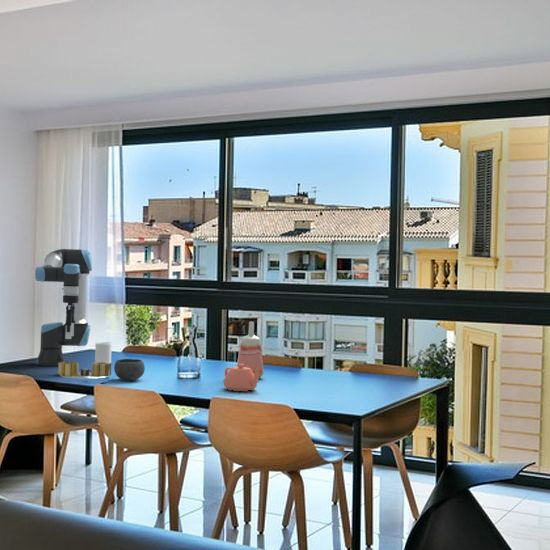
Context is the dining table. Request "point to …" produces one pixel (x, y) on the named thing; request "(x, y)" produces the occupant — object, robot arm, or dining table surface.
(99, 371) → the seated gear
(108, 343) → the cup
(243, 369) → the teapot
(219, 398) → the dining table surface
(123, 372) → the bowl
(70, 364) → the gear
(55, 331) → the robot arm
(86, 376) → the carrier
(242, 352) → the pink squeeze bottle
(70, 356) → the dining table surface
